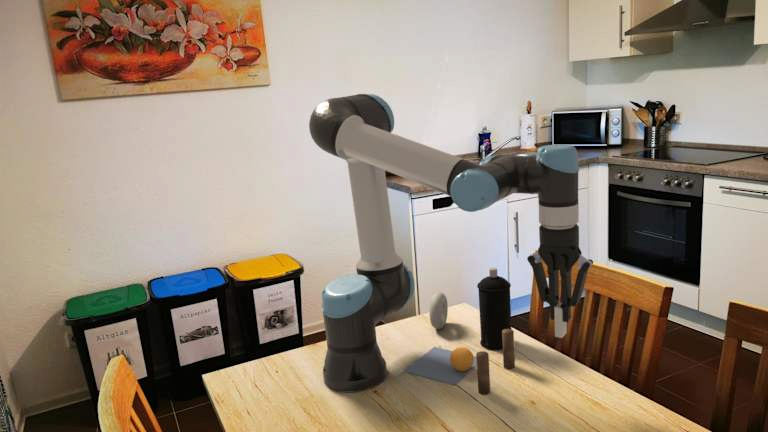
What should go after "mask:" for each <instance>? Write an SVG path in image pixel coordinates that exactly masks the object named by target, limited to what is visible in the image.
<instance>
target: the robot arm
mask: <svg viewBox="0 0 768 432" xmlns="http://www.w3.org/2000/svg"><path fill="white" fill-rule="evenodd" d="M394 116H395V115H394V113H393V110H392V107H391V106H390V104H388V102H387V101H386V100H384V98H382V97H380V96H379V95H377V94H371V93H359V94H353V95H352V94H351V95H348V96H342V97H341V96H339V97H331V98H328V99H325V100H324V101H321V102H320V103H319V104H318V105H316V107H315V108H314V109H313V111H312V112H311V115H310V116H309V124H308V127H309V133H310V136H311V139H312V140H313V142H314V143H315V144H316V145H317V147H318V148H319V149H321V150H322V151H324V152H326V153H328V154H330V155H332V156H335V157H337V158H340V159H342V160H345V162H346V163H347V168H348V169H347V170H348V176H349V185H350V188H351V197H352V203H353V204H352V205H353V211H354V217H355V218H354V219H355V225H356V233H357V238H358V245H359V253H360V259H358V261H357V262H356V263H355V268H356V274H355V273H354V274H348V275H345V276H340V277H337V278H334V279H333V280H331V281H329V282H328V283H327V284H326V285H325V286H324V287H323V290H322V291H321V310H322V314H323V315H322V316H323V325H324V331H325V338H326V347H327V349H326V354H325V358H324V364H323V365H324V366H323V369H322V375H323V378H322V379H323V382H324V384H325V385H326V386H327V387H328V388H330V389H331V390H333V391H338V392H343V393H345V392H346V393H347V392H348V393H354V392H362V391H365V390H369V389H372V388H374V387H376V386H378V385H380V384H381V383H382V382H384V380H385V379H386V377H387V376H388V366H387V362H386V360H385V358H384V357H383V355H382V352H381V350H380V347H379V345H378V341H377V330H376V325H377V324H378V323H380V322H381V321H383V320H384V319H386V318H387V317H389V316H391V315H392V314H394V313H396V312H398V311H400V310H402V309H403V308H404V307H405V306H406V305H407V304H408V303H409V302H410V301H411V299H412V297H413V295H414V293H415V285H416V284H415V279H414V275H413V273H412V271H411V270H409V267H408V266H407V265H406V264H404V260H403V258H402V256H400V255H399V254H398V253H396V247H395V246H396V245H395V240H394V239H395V238H394V232H393V223H392V216H391V209H390V201H389V193H388V186H387V177H386V172H389V173H391V174H392V175H396V176H398V177H401V178H403V179H405V180H408V181H411V182H414V183H416V184H419V185H421V186H424V187H426V188H429V189H430V190H434V191H437V192H439V193H441V194H443V195H446V196H448V197H451V199H452V201H453V203H454V204H455V205H456V206H457V207H458V208H459V209H460V210H461V211H465V212H468V213H474V212H477V211H481V210H484V209H487V208H489V207H491V206H492V205H493V204H495V203H497V202H499V201H501V200H503V199H505V198H507V197H509V196H510V195H513V194H526V195H528V194H529V195H537V197H538V223H539V224H540V225H539V227H538V229H539V230H538V231H539V233H538V234H539V247H538V249H537V251H536V252H533V253H531V254H530V255H529V256H528V257H526V259H527V262H528V263H529V265H530V267H531V269H532V272H533V276H534V280H535V283H536V288H537V291H538V294H539V299H540V301H541V302H543V303H547V304H548V305H549V317H550V319H551V320H553V321H554V338H559V339H563V338H564V337H565V335H566V334H567V333H568V331H567V330H568V327H567V326H568V325H567V323H569V322H570V320H571V319H572V307H576V306H577V305H578V304H579V303H580V302H581V300H582V295H583V292H584V289H585V288H584V287H585V284H586V279H587V276H588V272H589V269H591V267H592V266H593V265H594V261H593V260H592V258H591V259H587V258H586V257H585V256H583V255H582V251H581V249H580V226H579V225H578V223H579V221H580V220H579V219H580V218H579V216H580V215H579V214H580V213H579V210H580V209H579V208H580V207H579V172H580V168H579V162H578V161H579V159H578V158H579V157H578V151H577V148H576V147H575V146H573V145H570V144H561V143H560V144H547V145H542V146H540V147H539V148H538V149H537V150H536V151H537V153H536V155H504V154H498V155H488V156H485V157H483V158H482V160H481V162H479V164H478V163H474V162H473V161H471V160H466V159H465V158H461V157H459V156H456V155H453V154H451V153H448V152H445V151H442V150H439V149H436V148H433V147H432V146H428V145H425V144H423V143H420V142H417V141H415V140H412V139H409V138H406V137H403V136H400V135H398V134H394V133H393V130H394V128H395V117H394ZM543 262H544V264H545V265H546V266H547V267H546V268H547V271H545V268H544V264H543ZM577 262H578V264H577V266H578V271H577V273H576V279H575V283H574V287H573V290H572V271H573V267H574V266H575V265H576V263H577ZM546 273H547V275H548V276H547V277H548V280H547V277H546ZM559 275H560V276H559ZM559 280H560V281H559ZM560 291H561V292H560ZM560 294H561V295H560ZM559 301H560V302H559Z"/></svg>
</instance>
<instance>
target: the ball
mask: <svg viewBox="0 0 768 432" xmlns="http://www.w3.org/2000/svg"><path fill="white" fill-rule="evenodd" d="M452 351H453V352H452V353H451V356H450V362H451V365H452V366H453V368H455V369H456V370H458V371H466V370H468V369H470V368H471V367H472V365H473V362H474V357H473V356H474V355H473V352H472V351H471V350H470V349H469V348H467V347H464V346H461V347H460V346H459V347H457V348H455V349H453V350H452Z"/></svg>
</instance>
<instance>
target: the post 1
mask: <svg viewBox="0 0 768 432" xmlns="http://www.w3.org/2000/svg"><path fill="white" fill-rule="evenodd" d="M475 355H476V359H477V366H476V374H477V377H476V378H477V392H478V393H477V394H479V395H482V396H487V395H489V394H491V379H490V374H491V373H490V358H489V353H488V352H487V351H484V350H483V351H478V352H476V353H475Z"/></svg>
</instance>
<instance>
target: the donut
mask: <svg viewBox="0 0 768 432" xmlns="http://www.w3.org/2000/svg"><path fill="white" fill-rule="evenodd" d="M448 308H449V307H448V299H447V296H446V294H445V293H444V292H441V291H438V292H435V293H434V294H433V295H432V297H431V300H430V304H429V322H430V324H431V326H432V327H433V328H434V329H436V330H441V329H443V328H444V327H445V325H446V322H447V321H448V320H447V319H448V310H449V309H448Z"/></svg>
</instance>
